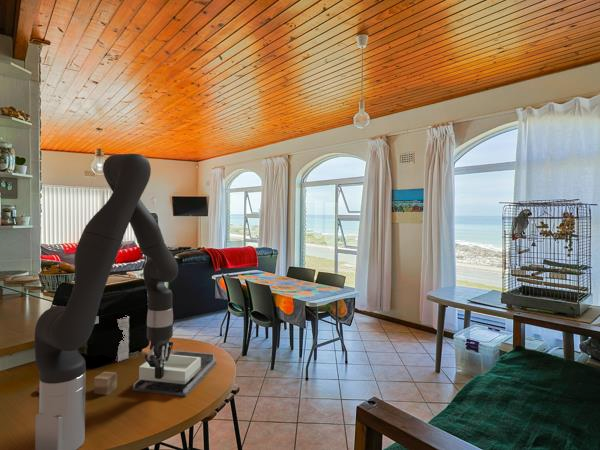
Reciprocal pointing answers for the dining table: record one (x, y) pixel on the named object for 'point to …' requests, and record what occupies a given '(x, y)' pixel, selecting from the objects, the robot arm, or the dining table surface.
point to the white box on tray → (173, 370)
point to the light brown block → (105, 383)
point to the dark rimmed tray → (173, 388)
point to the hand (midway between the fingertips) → (159, 377)
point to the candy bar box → (124, 345)
